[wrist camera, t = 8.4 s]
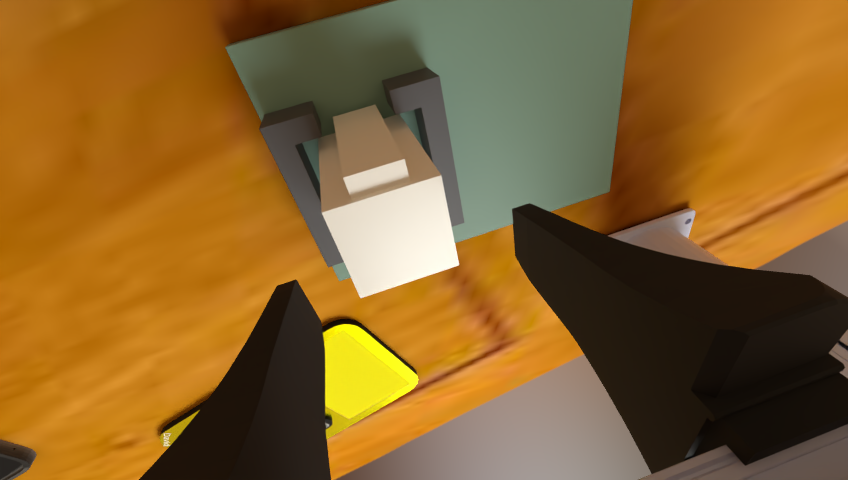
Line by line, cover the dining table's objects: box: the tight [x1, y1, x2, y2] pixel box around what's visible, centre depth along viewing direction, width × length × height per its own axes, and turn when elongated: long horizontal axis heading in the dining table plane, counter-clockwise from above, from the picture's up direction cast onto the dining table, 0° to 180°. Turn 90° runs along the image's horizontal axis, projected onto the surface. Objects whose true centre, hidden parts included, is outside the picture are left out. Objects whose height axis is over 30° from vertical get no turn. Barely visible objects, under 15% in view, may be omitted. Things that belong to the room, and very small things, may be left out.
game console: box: [160, 319, 418, 448], centre depth 29 cm, size 18×11×2 cm, turn 122°
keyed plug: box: [318, 105, 459, 298], centre depth 15 cm, size 5×4×7 cm
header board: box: [225, 0, 633, 281], centre depth 18 cm, size 13×18×3 cm
